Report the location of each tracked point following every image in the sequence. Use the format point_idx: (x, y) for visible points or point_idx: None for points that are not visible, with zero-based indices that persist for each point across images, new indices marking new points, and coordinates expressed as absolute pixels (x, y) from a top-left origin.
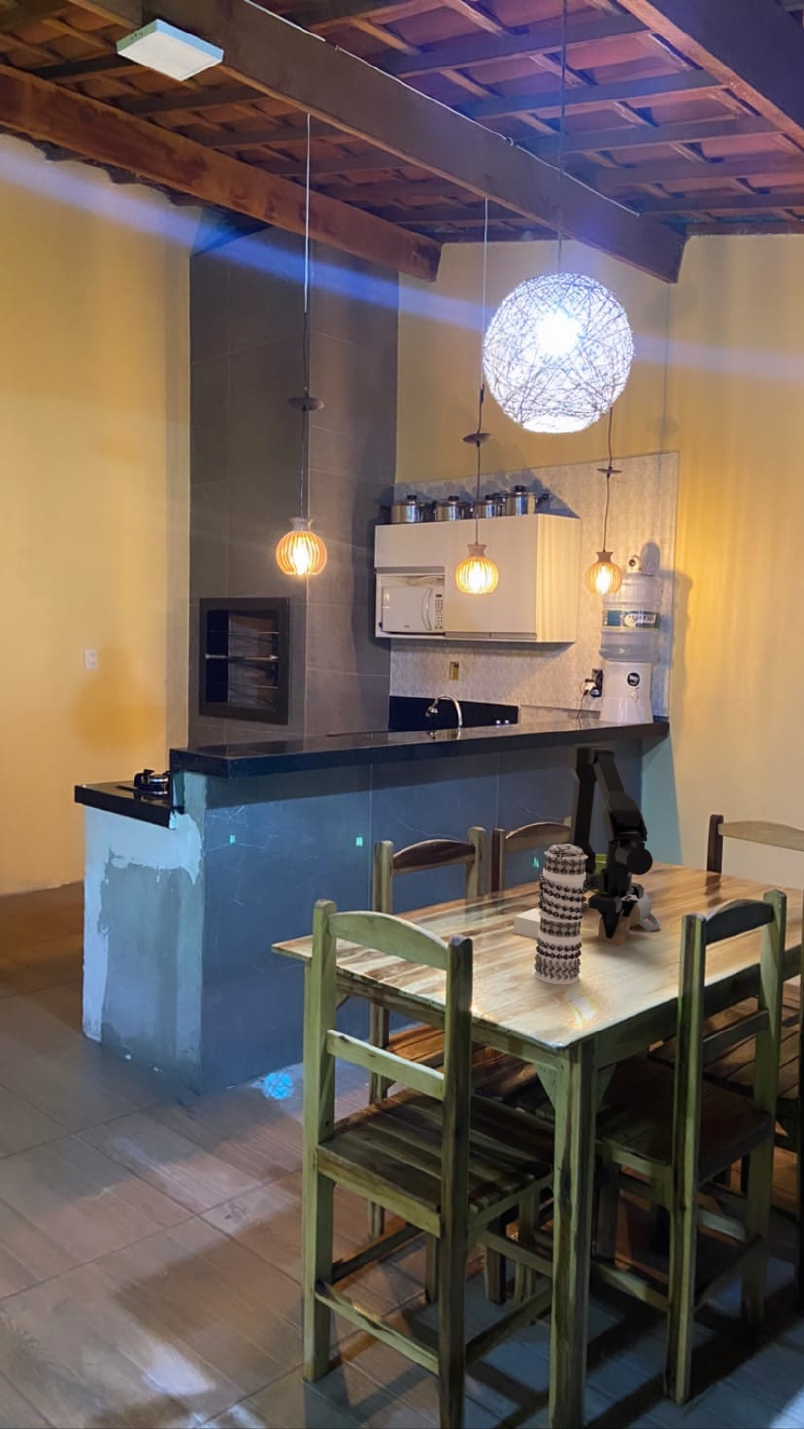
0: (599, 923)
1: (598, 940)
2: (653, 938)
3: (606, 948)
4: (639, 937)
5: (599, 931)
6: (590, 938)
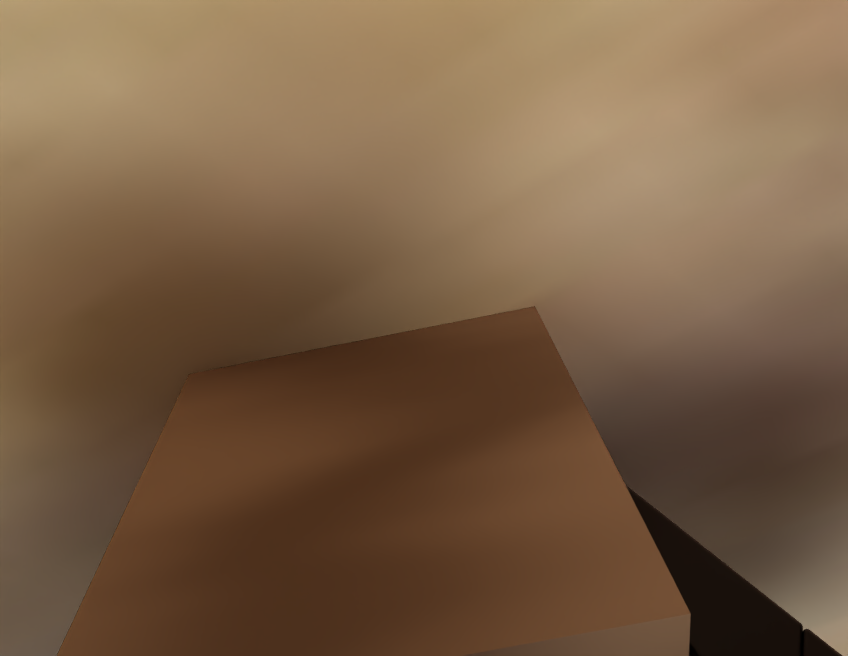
0: (86, 599)
1: (188, 382)
2: (819, 631)
3: (19, 587)
4: (759, 558)
5: (153, 477)
6: (158, 254)
